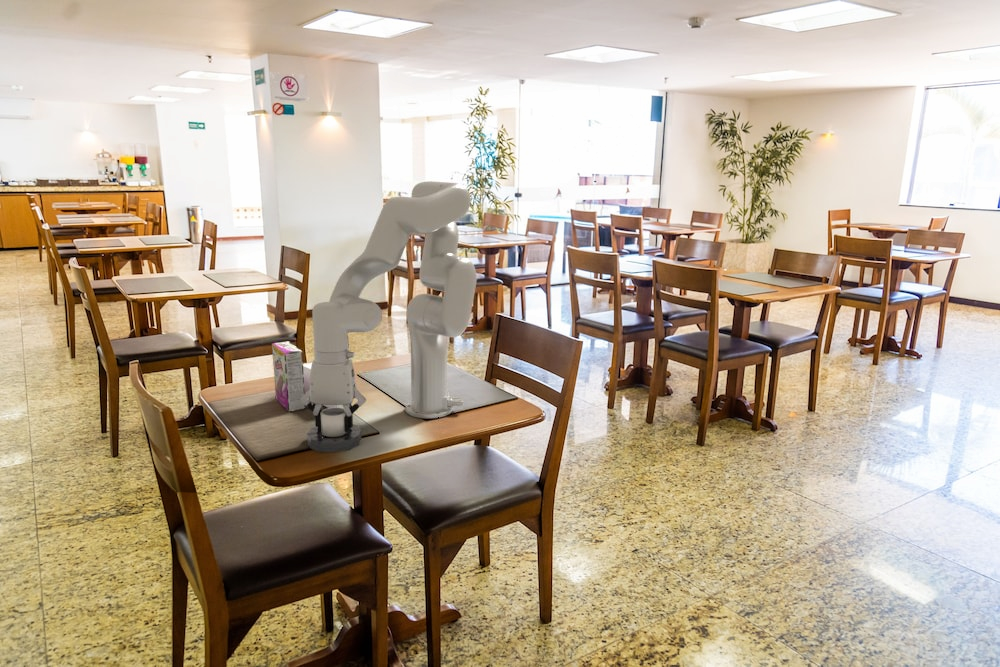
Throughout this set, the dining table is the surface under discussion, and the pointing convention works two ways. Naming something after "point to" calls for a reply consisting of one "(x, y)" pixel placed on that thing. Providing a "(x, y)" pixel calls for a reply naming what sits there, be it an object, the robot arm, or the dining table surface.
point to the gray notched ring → (334, 440)
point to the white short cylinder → (333, 422)
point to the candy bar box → (288, 375)
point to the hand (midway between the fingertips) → (334, 429)
